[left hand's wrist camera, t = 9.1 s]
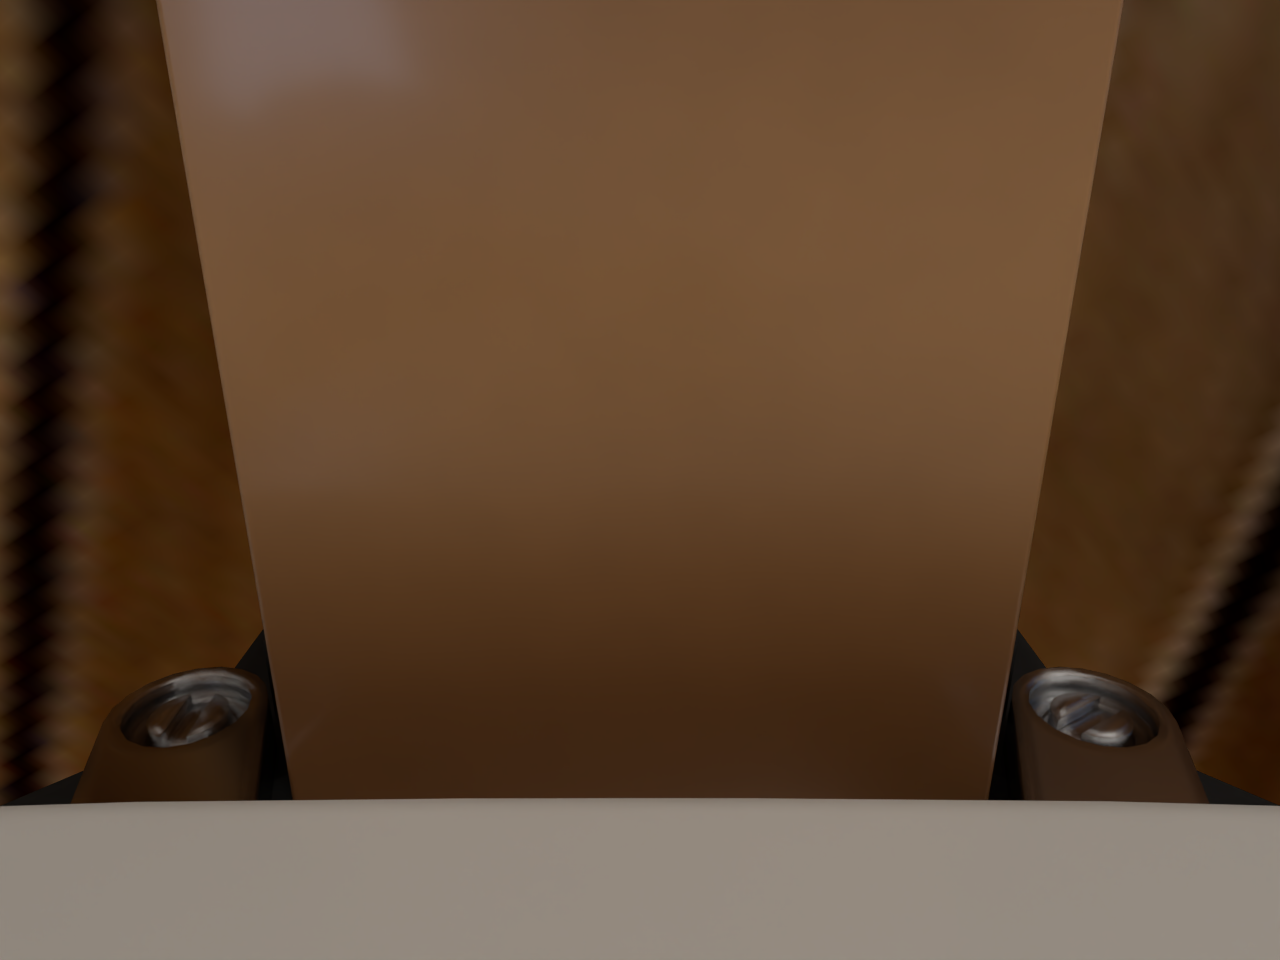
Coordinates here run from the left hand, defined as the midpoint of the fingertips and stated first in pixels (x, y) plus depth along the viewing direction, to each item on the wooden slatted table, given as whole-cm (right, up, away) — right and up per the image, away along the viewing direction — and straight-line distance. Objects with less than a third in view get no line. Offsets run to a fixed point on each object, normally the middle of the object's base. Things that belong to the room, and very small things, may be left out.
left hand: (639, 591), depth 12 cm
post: (0, +18, -4) cm, 18 cm away
